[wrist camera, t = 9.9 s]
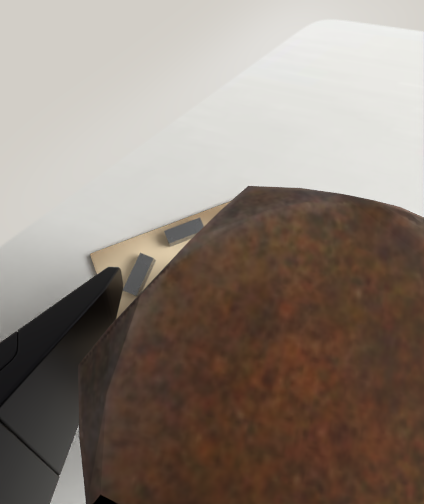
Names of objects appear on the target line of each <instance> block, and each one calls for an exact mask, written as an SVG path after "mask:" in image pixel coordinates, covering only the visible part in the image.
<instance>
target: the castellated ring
mask: <svg viewBox="0 0 424 504" xmlns="http://www.w3.org/2000/svg"><path fill="white" fill-rule="evenodd" d="M203 227H204V225H203V223H202V221H201V218H197V219H194V220H192V221H189V222H186V223H184V224H181V225H178V226H176V227H173V228H170V229H168V230H165V231H164V232H165V235H166V237H167V240H168V242H169V245H170V247H171V246H174V245H177V244H179V243H182V242H184V241H187V240H189V239H192V238H193V237H194V236H195V235H196V234H197V233H198V232H199V231H200V230H201V229H202V228H203ZM155 262H156V260H155V259H154V258H152V257H150V256H147V255H145V254H143V253H140V254H139V256H138V258H137V261H136V263H135V265H134V267H133V269H132V271H131V273H130V275H129V277H128V279H127V282H126V284H125V286H124V288H123V291H125V292H128V293H130V294H133V295H135V296H138V295H139V294H140V293H141V292H142V290H143V288H144V286H145V284H146V281H147V279H148V277H149V275H150V273H151V270H152V268H153V266H154V264H155Z"/></svg>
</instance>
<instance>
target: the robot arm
mask: <svg viewBox="0 0 424 504" xmlns="http://www.w3.org/2000/svg"><path fill="white" fill-rule="evenodd" d="M122 292H123V279H122V273H121V269H120V268H119V267H107V268H106V269H104V270H103V271H101V272H100V273H98V274H97V275H96V276H94V277H93V278H91V279H90V280H88V281H87V282H86V283H84V284H83V285H81V286H80V287H79V288H77V289H76V290H74V291H73V292H71V293H70V294H69V295H67V296H66V297H64V298H63V299H62V300H60V301H59V302H57V303H56V304H54V305H53V306H52V307H50V308H49V309H47V310H46V311H45V312H43V313H42V314H40V315H39V316H37V317H36V318H35V319H33V320H32V321H30V322H29V323H28V324H26V325H25V326H23V327H22V328H20V329H19V330H18V332H15V333H13V334H12V335H10V336H9V337H8V338H6V339H5V340H3V341H2V342H0V504H50V502H51V499H52V496H53V493H54V491H55V488H56V485H57V482H58V480H59V475H60V474H61V471H62V468H63V466H64V463H65V460H66V457H67V455H68V452H69V449H70V446H71V444H72V441H73V438H74V436H75V433H76V430H77V427H78V425H79V390H78V365H79V363H80V362H81V361H82V360H83V358H84V357H85V356H86V355H87V354H88V352H89V351H90V350H91V349H92V347H93V346H94V345H95V344H96V342H97V341H98V340H99V339H100V338H101V336H102V335H103V334H104V333H105V331H106V330H107V329H108V328H109V327H110V325H111V324H112V323H113V322H114V321H115V320H116V317H117V313H118V309H119V305H120V300H121V296H122Z"/></svg>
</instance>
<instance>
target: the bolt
mask: <svg viewBox="0 0 424 504" xmlns="http://www.w3.org/2000/svg"><path fill="white" fill-rule="evenodd" d="M78 390H79V438H80V447H81V457H82V467H83V477H84V486H85V496H86V504H424V217H421V216H419V215H417V214H415V213H412V212H410V211H408V210H405V209H403V208H401V207H397V206H394V205H390V204H386V203H382V202H378V201H374V200H369V199H364V198H359V197H354V196H349V195H344V194H338V193H331V192H324V191H317V190H310V189H303V188H283V187H259V186H248V187H247V188H246V189H244V190H243V191H242V192H241V193H240V194H239V195H238V196H236V197H235V198H234V199H233V200H232V201H231V202H230V203H228V204H227V205H226V206H225V207H224V208H223V209H222V210H220V211H219V212H218V213H217V214H216V215H215V216H214V217H213V218H212V219H211V220H210V221H209V222H208V223H207V224H206V225H205V226H204V227H203V228H202V229H201V230H200V231H199V232H198V233H197V234H196V235H195V236H194V237H193V238H192V239H191V240H190V241H189V242H188V243H187V244H186V245H185V246H184V247H183V248H182V249H181V250H180V251H179V252H178V253H177V255H176V256H175V257H174V258H173V259H172V260H171V261H170V262H169V263H168V264H167V265H166V266H165V267H164V268H163V270H162V271H161V272H160V273H159V274H158V275H157V276H156V277H155V278H154V279H153V280H152V281H151V282H150V283H149V285H148V286H147V287H146V288H145V289H144V290H143V291H142V292H141V293H140V294H139V295H138V296H137V297H136V298H135V300H134V301H133V302H132V303H131V304H130V305H129V306H128V307H127V308H126V309H125V310H124V311H123V312H122V313H121V315H120V316H119V317H118V318H117V319H116V320H115V321H114V322H113V323H112V324H111V325H110V327H109V328H108V329H107V330H106V331H105V333H104V334H103V335H102V336H101V338H100V339H99V340H98V341H97V342H96V344H95V345H94V346H93V347H92V349H91V350H90V351H89V352H88V354H87V355H86V356H85V357H84V358H83V360H82V361H81V362H80V363H79V365H78Z"/></svg>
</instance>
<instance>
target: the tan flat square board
mask: <svg viewBox="0 0 424 504" xmlns="http://www.w3.org/2000/svg"><path fill="white" fill-rule="evenodd" d="M230 202H231V201H230ZM230 202H227V203H225V204H222V205H219V206H217V207H214V208H211V209H209V210H206V211H203V212H201V213H198V214H195V215H193V216H190V217H187V218H185V219H182V220H179V221H177V222H174V223H171V224H169V225H166V226H163V227H161V228H158V229H155V230H153V231H150V232H147V233H144V234H142V235H139V236H136V237H134V238H131V239H128V240H126V241H123V242H120V243H118V244H115V245H112V246H110V247H107V248H104V249H102V250H99V251H96V252H94V253H91V254H90V256H91V259H92V261H93V264H94V267H95V270H96V273H97V274H98V273H100V272H101V271H103V270H104V269H106V268H107V267H119V268H120V269H121V273H122V279H123V288H124V286H125V284H126V282H127V279H128V277H129V275H130V273H131V271H132V269H133V267H134V265H135V263H136V261H137V258H138V256H139V254H140V253H143V254H145V255H147V256H150V257H152V258H154V259H155V260H156V262H155V264H154V266H153V268H152V270H151V273H150V275H149V277H148V279H147V281H146V284H145V286H144V288H143V290H144V289H145V288H146V287H147V286H148V285H149V283H150V282H151V281H152V280H153V279H154V278H155V277H156V276H157V275H158V274H159V273H160V272H161V271H162V270H163V268H164V267H165V266H166V265H167V264H168V263H169V262H170V261H171V260H172V259H173V258H174V257H175V256H176V255H177V253H178V252H179V251H180V250H181V249H182V248H183V247H184V246H185V245H186V244H187V243H188V242H189V241H190V240H191V239H189V240H187V241H184V242H182V243H179V244H177V245H174V246H171V247H170V245H169V242H168V240H167V237H166V235H165V232H164V231H165V230H168V229H170V228H173V227H176V226H178V225H181V224H184V223H186V222H189V221H192V220H194V219H197V218H201V221H202V223H203V225H204V226H205V225H206V224H207V223H208V222H209V221H210V220H211V219H212V218H213V217H214V216H215V215H216V214H217V213H218V212H219V211H220V210H222V209H223V208H224V207H225V206H226V205H227V204H228V203H230ZM143 290H142V291H143ZM136 297H137V296H135V295H133V294H130V293H128V292H125V291H123V292H122V296H121V300H120V305H119V309H118V313H117V317H116V319H117V318H118V317H119V316H120V315H121V313H122V312H123V311H124V310H125V309H126V308H127V307H128V306H129V305H130V304H131V303H132V302H133V301H134V300H135V298H136Z"/></svg>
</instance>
